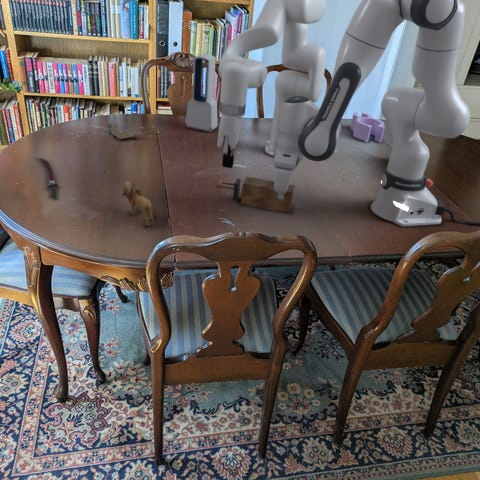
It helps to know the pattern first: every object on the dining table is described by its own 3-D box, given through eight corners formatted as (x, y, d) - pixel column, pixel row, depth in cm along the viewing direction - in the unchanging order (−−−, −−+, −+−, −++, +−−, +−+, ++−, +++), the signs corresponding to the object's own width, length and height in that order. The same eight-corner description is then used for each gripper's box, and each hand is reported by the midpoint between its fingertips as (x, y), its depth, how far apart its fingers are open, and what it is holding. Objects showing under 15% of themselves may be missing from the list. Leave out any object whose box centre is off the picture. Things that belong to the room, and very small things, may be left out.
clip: (343, 126, 223) (346, 112, 219) (367, 127, 225) (371, 113, 221) (360, 142, 206) (364, 127, 202) (386, 142, 209) (390, 127, 205)
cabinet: (240, 204, 148) (242, 183, 144) (244, 197, 153) (246, 176, 149) (289, 213, 146) (292, 192, 142) (291, 205, 150) (294, 185, 146)
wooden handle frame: (215, 196, 149) (216, 180, 146) (219, 190, 153) (220, 175, 150) (277, 208, 147) (280, 191, 144) (279, 202, 150) (282, 186, 147)
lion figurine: (118, 210, 138) (116, 182, 133) (132, 204, 141) (131, 177, 137) (151, 229, 130) (150, 201, 126) (165, 223, 134) (165, 195, 129)
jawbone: (125, 144, 181) (124, 139, 180) (93, 130, 191) (92, 125, 190) (143, 137, 187) (142, 132, 185) (111, 123, 197) (110, 119, 196)
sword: (61, 197, 141) (61, 193, 140) (50, 198, 139) (50, 194, 139) (49, 160, 164) (48, 156, 163) (39, 160, 163) (39, 157, 162)
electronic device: (217, 128, 204) (222, 56, 188) (211, 133, 198) (215, 59, 182) (191, 123, 207) (194, 51, 191) (184, 127, 201) (186, 54, 185)
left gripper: (226, 99, 142) (221, 155, 152) (213, 113, 130) (209, 173, 140) (250, 103, 141) (244, 159, 151) (239, 118, 129) (233, 178, 139)
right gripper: (283, 138, 148) (277, 178, 155) (273, 162, 131) (267, 206, 138) (302, 141, 147) (296, 181, 154) (295, 166, 130) (288, 209, 137)
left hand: (227, 166), depth 145 cm, fingers closed
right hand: (282, 193), depth 146 cm, fingers closed on cabinet, 5 cm apart
